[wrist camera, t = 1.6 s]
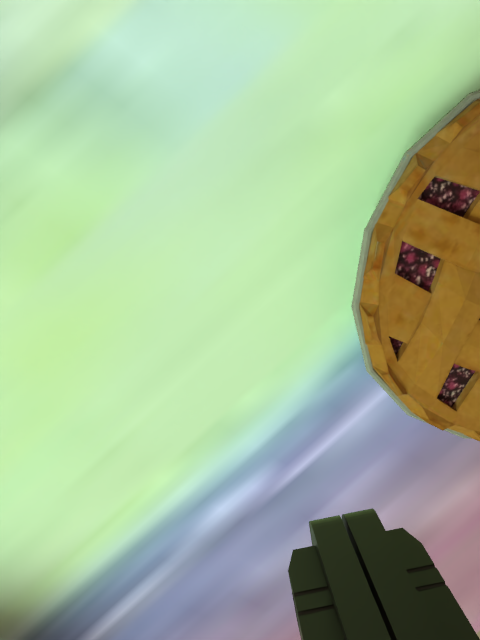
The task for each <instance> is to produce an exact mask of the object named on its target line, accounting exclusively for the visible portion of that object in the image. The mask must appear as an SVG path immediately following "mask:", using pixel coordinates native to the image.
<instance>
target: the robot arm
mask: <svg viewBox="0 0 480 640" xmlns="http://www.w3.org/2000/svg"><path fill="white" fill-rule="evenodd" d="M309 527H310V533H311V540H312V546H311V547H306V548H301V549H296V550H293V553H292V557H291V561H290V565H289V570H288V572H289V578H290V583H291V589H292V594H293V600H294V605H295V611H296V617H297V622H298V627H299V631H300V636H301V640H480V639H479V637H478V636H477V634H476V632H475V631H474V629H473V627H472V626H471V624H470V623H469V621H468V619H467V618H466V616H465V614H464V613H463V611H462V609H461V608H460V606H459V604H458V603H457V601H456V599H455V598H454V596H453V594H452V593H451V591H450V589H449V588H448V586H446V585H445V581H444V580H443V578H442V576H441V575H440V573H439V571H438V570H437V568H435V566H434V563H433V561H432V560H431V558H430V556H429V555H428V553H427V551H426V550H425V548H424V546H423V545H422V543H421V542H419V541H418V540H417V539H416V538H414V537H413V536H412V535H411V534H409V533H408V532H407V531H406V530H404V529H403V528H399V529H394V530H389V531H385V529H384V527H383V525H382V523H381V521H380V519H379V517H378V515H377V513H376V512H375V510H374V509H368V510H363V511H358V512H353V513H348V514H343V515H342V519H341V517H340V516H339V515H338V516H333V517H328V518H324V519H319V520H314V521H309Z"/></svg>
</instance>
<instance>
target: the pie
mask: <svg viewBox="0 0 480 640" xmlns="http://www.w3.org/2000/svg"><path fill="white" fill-rule="evenodd" d="M352 311H353V315H354V319H355V323H356V328H357V332H358V336H359V341H360V345H361V349H362V353H363V358H364V362H365V366H366V370H367V372H368V373H369V374H370V375H371V376H372V377H373V378H374V379H375V381H376V382H377V383H378V384H379V385H380V386H381V387H382V388H383V389H384V390H385V391H386V392H387V394H388V395H389V396H390V397H391V398H392V399H393V400H394V401H395V402H396V403H397V404H398V405H399V406H400V408H401V409H402V410H403V411H404V412H405V413H406V414H407V415H409V416H411V417H414V418H416V419H418V420H421V421H423V422H426V423H428V424H431V425H433V426H435V427H437V428H439V429H441V430H445V431H448V432H450V433H452V434H455V435H457V436H460V437H462V438H473V439H475V440H478V441H480V90H479V91H476V92H472V93H470V94H468V95H467V96H466V97H465V98H464V99H463V100H462V101H461V102H460V103H459V104H458V105H456V106H455V107H454V108H453V109H452V110H451V111H450V112H449V113H448V114H447V115H446V116H445V117H443V118H442V119H441V120H440V121H439V122H438V123H437V124H436V125H435V126H434V127H433V128H432V129H430V130H429V131H428V132H427V133H426V134H425V135H424V136H423V137H422V138H421V139H420V140H419V141H417V142H416V143H415V144H414V145H413V146H412V147H411V148H410V149H409V150H408V151H407V152H406V153H405V154H404V156H403V158H402V159H401V161H400V163H399V165H398V167H397V169H396V171H395V173H394V175H393V177H392V178H391V180H390V182H389V184H388V186H387V188H386V190H385V192H384V194H383V196H382V197H381V199H380V201H379V203H378V205H377V207H376V209H375V211H374V213H373V215H372V216H371V218H370V220H369V222H368V224H367V226H366V228H365V230H364V235H363V241H362V247H361V253H360V259H359V265H358V271H357V277H356V283H355V289H354V295H353V301H352Z"/></svg>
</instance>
